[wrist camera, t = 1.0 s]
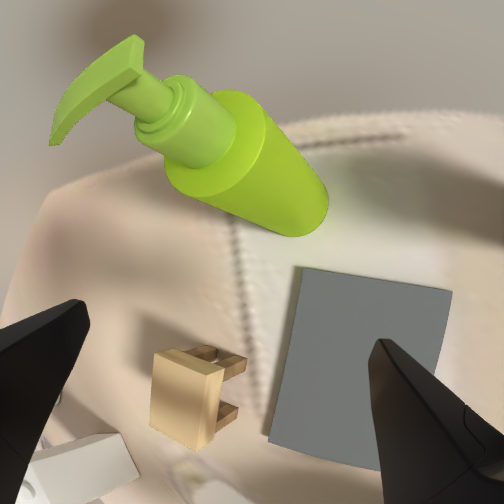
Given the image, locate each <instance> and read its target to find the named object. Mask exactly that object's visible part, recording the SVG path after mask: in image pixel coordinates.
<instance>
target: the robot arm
mask: <svg viewBox="0 0 504 504" xmlns="http://www.w3.org/2000/svg"><path fill="white" fill-rule="evenodd" d="M89 328H90V319H89V315H88V311H87V307H86V304H85V302H84V301H82V300H77V299H72V300H69V301H67V302H64V303H62V304H59V305H57V306H55V307H52V308H50V309H47V310H45V311H43V312H40V313H38V314H35V315H33V316H31V317H28V318H26V319H24V320H21V321H19V322H17V323H14V324H12V325H10V326H7V327H5V328H3V329H0V504H15V503H16V500H17V497H18V494H19V491H20V488H21V485H22V482H23V479H24V477H25V474H26V471H27V469H28V465H29V463H30V461H31V458H32V456H33V453H34V451H35V448H36V446H37V443H38V441H39V439H40V436H41V434H42V432H43V429H44V427H45V425H46V423H47V420H48V418H49V416H50V414H51V412H52V410H53V407H54V405H55V403H56V401H57V399H58V397H59V395H60V393H61V391H62V389H63V387H64V385H65V383H66V381H67V379H68V377H69V375H70V373H71V371H72V369H73V367H74V365H75V362H76V360H77V358H78V355H79V353H80V350H81V348H82V345H83V343H84V341H85V338H86V336H87V333H88V331H89ZM368 374H369V387H370V402H371V411H372V417H373V423H374V429H375V435H376V442H377V448H378V455H379V462H380V470H381V478H382V486H383V496H384V504H504V435H503V434H502V433H500V432H499V431H498V430H496V429H495V428H494V427H493V426H491V425H490V424H489V423H487V422H486V421H485V420H484V419H483V418H481V417H480V416H479V415H478V414H477V413H476V412H474V411H473V410H472V409H471V408H470V407H469V406H468V405H465V403H464V402H463V401H462V400H461V399H460V398H459V397H457V396H456V395H455V394H454V393H453V392H452V391H451V390H450V389H448V388H447V387H446V386H445V385H444V384H443V383H442V382H440V381H439V380H438V379H437V378H436V377H435V376H434V375H432V374H431V373H430V372H429V371H428V370H427V369H425V368H424V367H423V366H422V365H421V364H420V363H419V362H417V361H416V360H415V359H414V358H413V357H412V356H410V355H409V354H408V353H407V352H406V351H405V350H403V349H402V348H401V347H400V346H399V345H398V344H396V343H395V342H394V341H393V340H392V339H390V338H378V339H377V340H376V342H375V344H374V347H373V349H372V352H371V354H370V356H369V359H368Z"/></svg>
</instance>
